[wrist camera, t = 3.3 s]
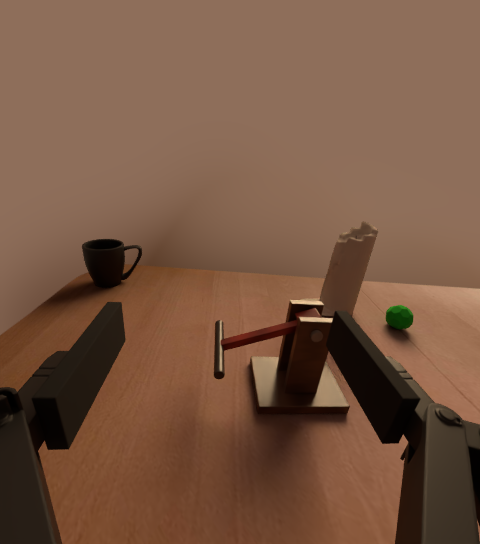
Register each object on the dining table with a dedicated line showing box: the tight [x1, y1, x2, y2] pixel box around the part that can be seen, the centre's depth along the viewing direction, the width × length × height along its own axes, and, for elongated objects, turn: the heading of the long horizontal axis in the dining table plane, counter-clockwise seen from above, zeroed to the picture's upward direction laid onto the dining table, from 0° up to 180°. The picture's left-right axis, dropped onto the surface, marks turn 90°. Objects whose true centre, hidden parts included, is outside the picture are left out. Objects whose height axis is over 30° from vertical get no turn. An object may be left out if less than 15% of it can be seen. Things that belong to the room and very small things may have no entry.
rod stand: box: [250, 300, 350, 414], centre depth 35 cm, size 12×9×13 cm
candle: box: [301, 222, 378, 316], centre depth 55 cm, size 7×14×20 cm, turn 91°
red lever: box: [214, 308, 322, 379], centre depth 33 cm, size 14×10×2 cm
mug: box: [82, 239, 142, 288], centre depth 60 cm, size 8×12×10 cm
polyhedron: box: [386, 305, 413, 329], centre depth 53 cm, size 5×5×5 cm
